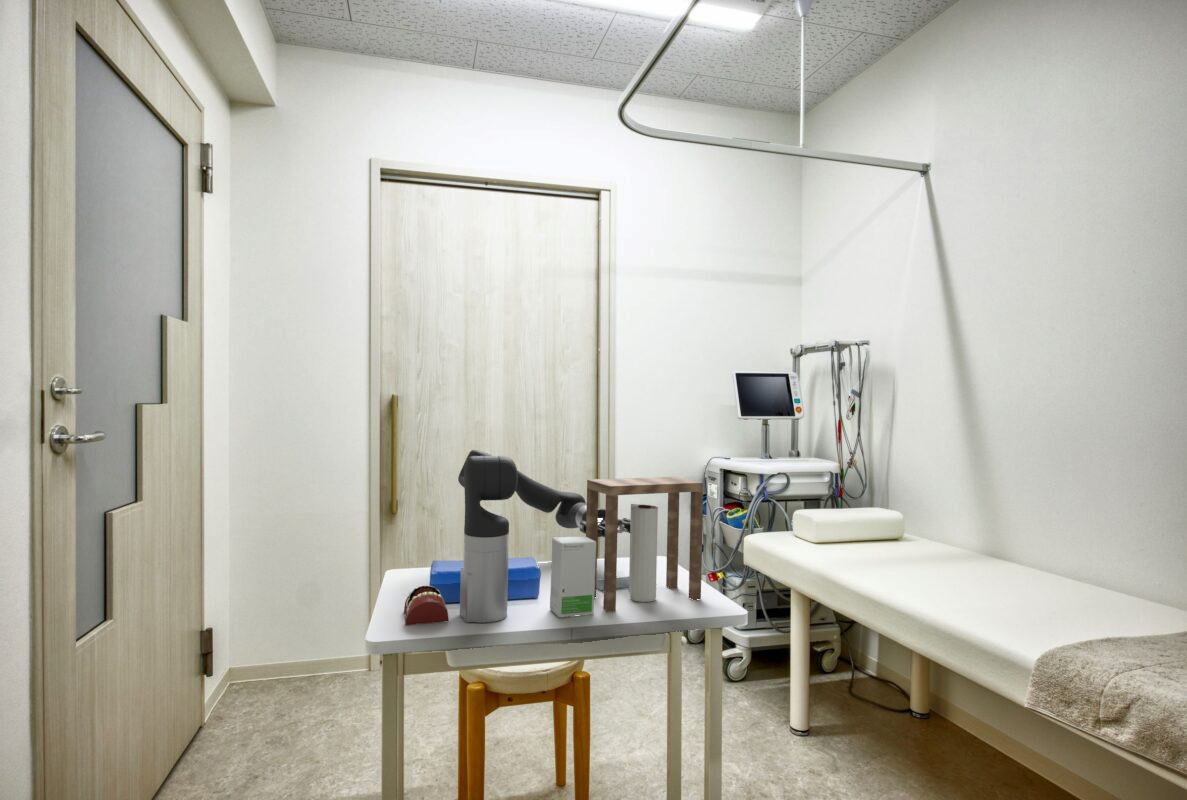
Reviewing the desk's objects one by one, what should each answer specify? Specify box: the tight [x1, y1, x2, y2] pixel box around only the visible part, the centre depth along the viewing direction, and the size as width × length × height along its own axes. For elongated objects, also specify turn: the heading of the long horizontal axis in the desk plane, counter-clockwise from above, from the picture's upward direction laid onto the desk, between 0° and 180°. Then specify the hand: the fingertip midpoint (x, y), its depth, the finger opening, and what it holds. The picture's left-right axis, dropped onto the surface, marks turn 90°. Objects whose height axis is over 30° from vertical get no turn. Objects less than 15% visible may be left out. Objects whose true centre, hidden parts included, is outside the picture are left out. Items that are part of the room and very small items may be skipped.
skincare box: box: [549, 536, 596, 618], centre depth 136 cm, size 8×7×16 cm
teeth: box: [403, 585, 450, 626], centre depth 131 cm, size 8×6×12 cm
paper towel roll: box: [628, 503, 659, 603], centre depth 146 cm, size 7×6×21 cm
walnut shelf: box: [585, 476, 704, 613], centre depth 146 cm, size 24×12×27 cm, turn 115°
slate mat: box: [596, 576, 629, 592], centre depth 157 cm, size 14×8×1 cm, turn 115°
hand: (620, 531), depth 158 cm, fingers open, 8 cm apart
